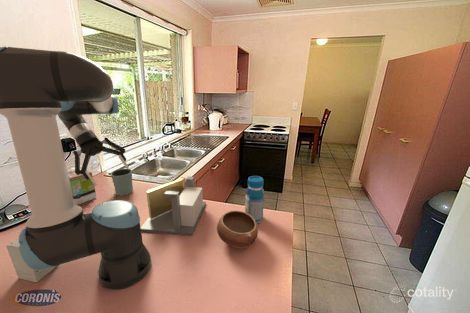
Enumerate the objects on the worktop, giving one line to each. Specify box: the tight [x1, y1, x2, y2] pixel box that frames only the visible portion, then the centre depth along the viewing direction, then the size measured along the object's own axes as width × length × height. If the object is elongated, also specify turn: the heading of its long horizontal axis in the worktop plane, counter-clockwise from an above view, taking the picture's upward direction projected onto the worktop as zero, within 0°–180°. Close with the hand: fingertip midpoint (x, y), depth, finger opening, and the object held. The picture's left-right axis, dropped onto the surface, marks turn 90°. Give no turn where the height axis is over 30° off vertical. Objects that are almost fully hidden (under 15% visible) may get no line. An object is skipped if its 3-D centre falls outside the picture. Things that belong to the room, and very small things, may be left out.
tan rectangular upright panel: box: [145, 177, 187, 219], centre depth 97 cm, size 2×19×13 cm, turn 140°
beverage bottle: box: [244, 175, 265, 224], centre depth 94 cm, size 8×8×20 cm
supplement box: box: [5, 237, 56, 283], centre depth 66 cm, size 7×7×13 cm
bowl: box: [216, 210, 259, 249], centre depth 82 cm, size 16×16×10 cm
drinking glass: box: [110, 168, 134, 196], centre depth 116 cm, size 10×10×12 cm
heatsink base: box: [140, 176, 207, 236], centre depth 95 cm, size 22×24×17 cm
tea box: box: [67, 166, 97, 206], centre depth 109 cm, size 15×10×15 cm
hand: (112, 175), depth 90 cm, fingers open, 13 cm apart
